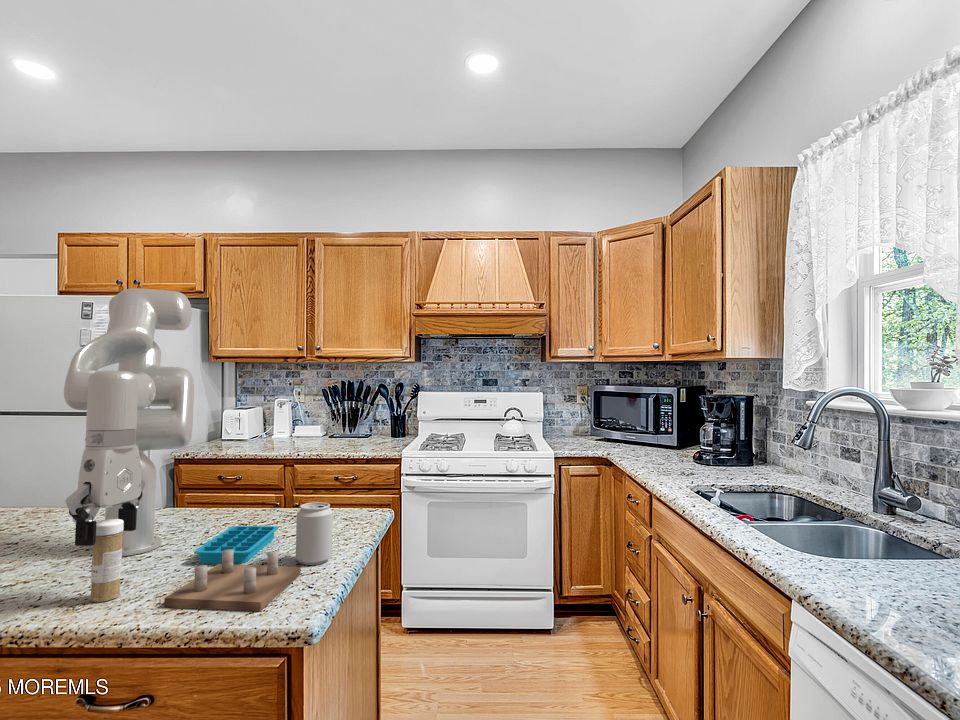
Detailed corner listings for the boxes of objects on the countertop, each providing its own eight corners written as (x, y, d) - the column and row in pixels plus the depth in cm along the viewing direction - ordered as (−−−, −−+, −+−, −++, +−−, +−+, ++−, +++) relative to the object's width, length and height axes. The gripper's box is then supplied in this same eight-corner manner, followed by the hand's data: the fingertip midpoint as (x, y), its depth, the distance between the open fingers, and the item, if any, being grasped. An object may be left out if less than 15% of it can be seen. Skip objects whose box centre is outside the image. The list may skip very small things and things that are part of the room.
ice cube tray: (191, 566, 112) (191, 552, 113) (232, 538, 133) (232, 525, 133) (247, 567, 113) (248, 552, 113) (279, 538, 133) (280, 526, 133)
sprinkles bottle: (86, 598, 95) (89, 521, 96) (116, 590, 99) (119, 516, 99) (94, 605, 92) (97, 526, 93) (124, 597, 96) (127, 521, 96)
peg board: (164, 606, 92) (165, 574, 92) (218, 571, 109) (219, 543, 109) (260, 611, 91) (261, 578, 91) (300, 574, 108) (301, 546, 108)
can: (338, 557, 119) (339, 502, 119) (317, 568, 112) (319, 510, 112) (310, 553, 121) (311, 499, 122) (287, 563, 114) (289, 506, 115)
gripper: (93, 444, 87) (88, 552, 86) (163, 436, 105) (159, 525, 104) (49, 444, 88) (44, 551, 87) (126, 435, 105) (122, 525, 104)
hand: (107, 537), depth 95 cm, fingers open, 9 cm apart
